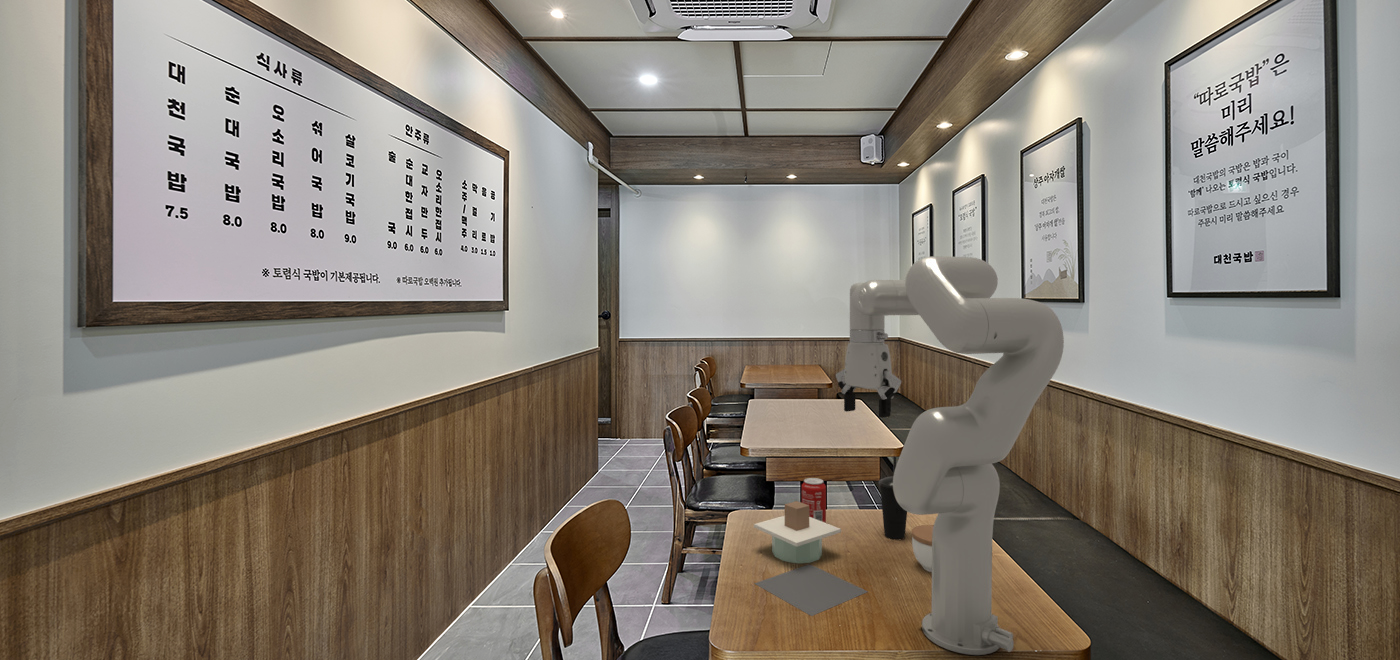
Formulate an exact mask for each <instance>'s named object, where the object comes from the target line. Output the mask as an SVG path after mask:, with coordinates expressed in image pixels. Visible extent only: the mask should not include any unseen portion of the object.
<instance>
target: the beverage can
mask: <svg viewBox="0 0 1400 660" xmlns="http://www.w3.org/2000/svg"><path fill="white" fill-rule="evenodd" d="M801 503H804V504H806V505H809V517H811V518H814V519H817V520H819V521H822V522H824V523H827V485H826V484H825V483H824V480H823V479H821V478H817V477H808V478H805V479H803V483H801Z"/></svg>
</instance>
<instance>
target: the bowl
mask: <svg viewBox="0 0 1400 660" xmlns="http://www.w3.org/2000/svg"><path fill="white" fill-rule="evenodd" d="M771 552H772V554H773V556H774V557H775V558H776V559H779V560H780V561H783V562H788V563H793V564H811V563H813V562H816V561H818V560H820V559H821V557H822V555H823V538H822V539H819V540H816V541H813V542H810V543H807V544H803V545H800V546H797V547H796V546H794V545H792V544H790V543H787V542H785V541H783V540H781V539H778V538H776V537H774V536H772V535H771Z"/></svg>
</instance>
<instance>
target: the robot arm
mask: <svg viewBox="0 0 1400 660" xmlns="http://www.w3.org/2000/svg"><path fill="white" fill-rule="evenodd" d="M997 274H998V273H997V272H996V271H995V268H994V267H993V266H992V265H991V264H990V263H988V262H986V261H985V260H983V259H981V258H977V257H973V256H972V257H971V256H931V255H930V256H925V257H922V258H919V259H918V260H917V261H915V262H914V263H912V265H911V266H910V267H909V269H908V271H907V274H906V277H905V279H871V280H867V281H864V282H857V283H853V284H852V285H851V286H850V287H849V343H847V347H846V353H845V362H844V369H842V370H840V371H838V372H836V373H835V378H836V380H837V382H838V383H837V386H838V387H839V388H840V390H841V394H843V398H844V399H843V410H844V412H854V411H856V393H855V392H854V391H855V390H856V389H865V390H873V391H875V390H876V391H877V393H878V395H879V396H880V398H879V399H878V417H879V418H887V417H890V416H891V412H892V405H891V404H892V399H894V397H895V395H896V394H897V393H898V391H899V389H900V386H901V384H902V380H901V379H900V378H899V377H897V376H896V375H895V374H893V371H892V362H891V361H892V360H891V353H890V348H889V345H888V344H885V340H888V338H889V334H888V333H885V316H886V317H887V316H920V319H922V321H923V322H924V323H925V324H926V326H927V327H928V328H929V329H930V331H931V332H932V334H933V335H934V336H935V338H936V339H937V340H938V342H939V343H940V344H941V345H942V346H943V347H945V348H946V349H947V350H949V351H951V352H953V353H956V354H962V355H978V354H980V355H981V354H1002V356H1001V357H1000V358H999V359H998V360H996V361H995V362H994V363H993V364H992V365H990V367H988V369H987V370H985V371H984V372H983V374H982V375H981V376H980V377H979V379H978V380H977V381H976V384H975V386H974V389H973V391H972V393H971V395H970V397H969V398H968V400H967V401H966V402H965V403H963V404H960V405H957V406H942V407H941V406H940V407H932V408H930V409H927V410H925V411H924V412H922V413H920V414H919V415H918V416H917V417H916V419H915V420H914V421H913V423H912V425H911V427H910V429H909V432H908V435H907V437H906V440H905V442H904V445H903V447H902V450H901V452H900V455H899V457H898V460H897V461H896V468H895V472H894V477H893V476H892V477H893V491H894V495H895V498H896V500H897V502H898V504H899V505H900V506H901V507H902V508H903V509H904V510H906V511H907V513H909V514H913V515H919V516H920V515H922V516H923V515H924V516H925V515H937V516H936V518H935V520H934V523H933V525H934V526H933V531H932V573H931V612H930V613H927V614H926V615H925V616H924V617H923V618H922V620H921V629H922V632H923V634H924V635H925V636H926V638H928V639H929V641H931V642H933V643H934V644H936V646H939V647H941V648H944V649H946V650H948V651H951V652H954V653H958V654H963V655H969V656H981V655H982V656H983V655H988V654H989V655H990V654H993V653H995V652H996V651H998V650H999V649H1002V650H1005V651H1007V652H1008V653H1010V652H1012V651H1013V649H1014V645H1015V643H1014V640H1013V639H1014V633H1013V632H1011V631H1009V630H1006V629H1003V628H1000V626H999V625H998V624H999V623H998V622H999V619H998V618H999V617H998V616H997V615H995V614H993V613H992V595H993V594H992V593H993V591H992V590H993V589H992V588H993V586H992V585H993V584H992V583H993V574H992V573H993V570H992V569H993V562H992V561H993V532H994V529H993V528H994V519H995V514H996V509H997V505H998V501H999V495H1000V488H1001V487H1000V483H1001V482H1000V476H999V474H998V472H997V469H996V467H995V466H994V465H993V464H996V463H998V462H1001V461H1003V460H1004V459H1005V458H1006V457H1007V456H1008V455H1009V454H1010V452H1011V450H1012V448H1013V447H1014V445H1015V443H1016V441H1017V439H1018V438H1019V436H1020V433H1021V432H1022V430H1023V427H1025V424H1026V422H1027V420H1028V418H1029V417H1030V415H1031V412H1032V410H1033V408H1034V406H1035V404H1036V403H1037V401H1038V399H1039V398H1040V396H1041V395H1042V393H1043V392H1044V390H1045V389H1046V387H1047V386H1048V385H1049V383H1050V382H1051V380H1052V378H1053V377H1054V375H1055V374H1056V371H1057V370H1058V367H1059V365H1060V363H1061V361H1062V356H1063V352H1064V346H1065V345H1064V343H1065V342H1064V339H1065V338H1064V330H1063V328H1062V327H1063V326H1062V324H1061V321H1060V319H1059V317H1058V315H1057V314H1056V313H1055V311H1054V310H1053V309H1052V308H1051V307H1049V306H1048V305H1046V304H1045V303H1043V302H1040V301H1037V300H1033V299H1027V298H1019V297H994V298H993V296H994V294H995V292H996V290H997V288H998V281H999V279H998V275H997Z"/></svg>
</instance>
